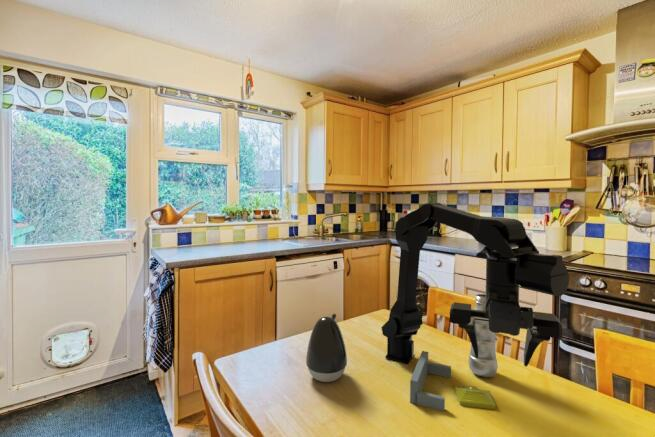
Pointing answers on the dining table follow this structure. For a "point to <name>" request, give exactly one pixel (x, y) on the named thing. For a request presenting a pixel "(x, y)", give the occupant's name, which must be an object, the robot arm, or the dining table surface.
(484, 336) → the plastic bottle
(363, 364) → the dining table surface
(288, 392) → the dining table surface
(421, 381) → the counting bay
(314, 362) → the dark grey egg shape
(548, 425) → the dining table surface
